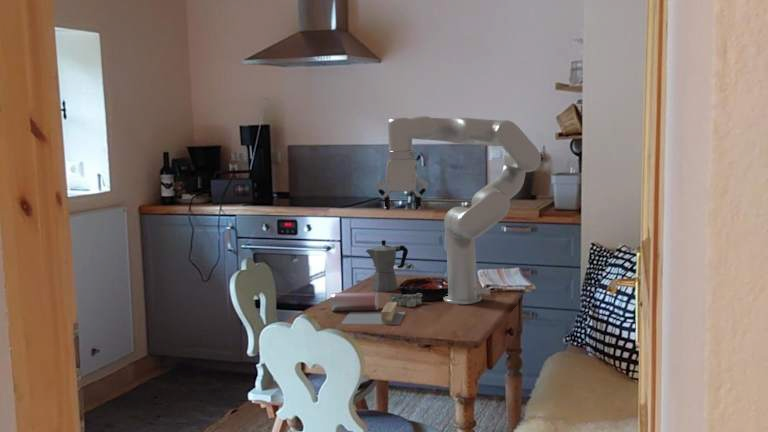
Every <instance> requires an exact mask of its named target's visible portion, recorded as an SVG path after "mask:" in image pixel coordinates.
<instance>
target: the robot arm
mask: <svg viewBox="0 0 768 432" xmlns="http://www.w3.org/2000/svg"><path fill="white" fill-rule="evenodd" d="M387 131H388V156H389V157H388V160H387V163H386V169H385V170H386V171H385V172H386V173H385V178H384V179H382V180H380V181H379V182H377V183H375V188H376V190H377V191H378V193H379V194H380V196H382V197H383V200H384V201H383V202H384V203H383V204H384V208H386V211H389V210H390V209H391V201H390V200H391V199H390V193H391V192H393V193H397V192H399V193H400V192H401V193H402V192H413V193H414V195H415V210H419V209H420V207H421V205H422V203H421V201H422V199H421V198H422V197H421V196H422V195H424V193H425V192H426V191H427V189H428V186H429V185H430V183H429V182H428V181H425V180H423V179H422V178H419V177H418V175H419V174H418V169H417V164H416V163H417V162H416V159H413V158H415V157H418V152H414V151H413V140H424V141H427V140H428V141H438V142H449V143H452V144H453V143H454V144H462V145H477V146H492V147H502V148H503V149H504V151H505V153H504V157H503V166H502V171H501V172H500V173H499V174H498V175H497V177H495V178H494V179H493V180H492V181H490V182H489V183H488V184H486V185H485V186H484V187H482V188H481V189H479V190H478V191H477V192H476V193H475V194H474V195H473V196H472V199H471V206H470V207H469V208H468V207H465V206H455V207H454V206H453V207H452V208H451V209H449V210H448V211H447V213H446V214H445V216H444V220H443V223H444V225H443V227H444V232H445V240H446V259H447V261H446V262H447V263H446V265H447V266H446V267H447V295H448V296H445V295H444V296H445V297H444V296H443V301H444V302H445V303H449V304H453V305H471V304H476V303H479V302H481V301H482V296H485V297H487V296H491V289H487V288H483V289H482V288H481V289H480V287H479V286H478V285H477V256H476V254H477V253H476V251H477V249H476V241H475V239H477V238H478V237H480V236H482V235H484V234H485V233H486V232H487V231H489V230H490V229H491V228H493V227H494V226H495V225H496V224H498V223H499V222H500V221H502V220H503V219H504V218H505V217H506V216H507V215H508V213H509V211H510V207H511V199H512V198H513V197H514V196H516V195H517V194H518V193H519V192H520V191H521V189H522V187H523V185H524V183H525V178H526V173H531V172H534V171H536V170H537V169H538V168H539V167H540V166H541V163H542V156H541V153H540V151H539V149H538V148H537V147H536V145H535V144H534V142H532V141H531V140H530V139H529V137H528V136H527V135H526V133H524V132H523V130H522V129H521V128H520V127H519V126H518V125H517V124H516V123H515V122H513V121H511V120H507V119H506V120H503V119H502V120H500V119H498V120H497V119H485V118H483V119H482V118H474V117H473V118H471V117H451V118H450V117H449V118H448V117H447V118H446V117H445V118H439V117H430V116H427V115H418V116H417V115H416V116H413V117H411V118H409V117H392V118H390V119H388V121H387ZM384 184H385V189H386V191H384V189H383V188H382V185H384ZM419 184H421V185H422V189H421V190H419V189H418V188H419Z"/></svg>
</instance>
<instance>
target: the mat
mask: <svg viewBox="0 0 768 432" xmlns="http://www.w3.org/2000/svg"><path fill="white" fill-rule="evenodd" d="M381 312H382V311H349V313H348V314H347V315H346V317H345V318H344V319H343V320H342V321H341V323H340V325H400V324H401V322H402V320H403V318H404V317H405V315H406V311H397V314H396V316H395V318H394V320H393V322H392V323H382V319H381Z"/></svg>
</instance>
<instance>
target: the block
mask: <svg viewBox="0 0 768 432" xmlns="http://www.w3.org/2000/svg"><path fill="white" fill-rule="evenodd" d="M380 312H381V319H382V323H392V322H393V320H394V318H395V316H396V314H397V312H398V304H397V302H390V301H387V302H386V303H385V305H384V307H383V308H382V310H381V311H380Z"/></svg>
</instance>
